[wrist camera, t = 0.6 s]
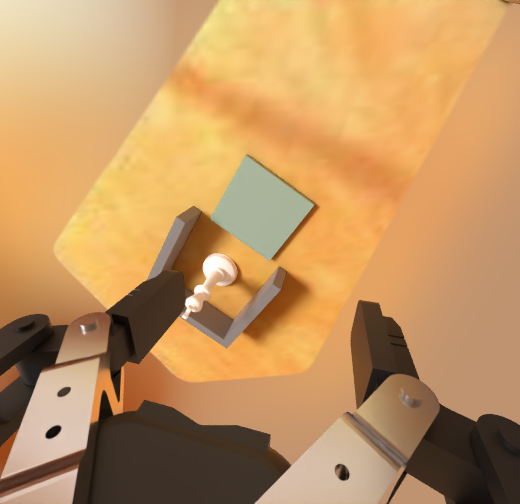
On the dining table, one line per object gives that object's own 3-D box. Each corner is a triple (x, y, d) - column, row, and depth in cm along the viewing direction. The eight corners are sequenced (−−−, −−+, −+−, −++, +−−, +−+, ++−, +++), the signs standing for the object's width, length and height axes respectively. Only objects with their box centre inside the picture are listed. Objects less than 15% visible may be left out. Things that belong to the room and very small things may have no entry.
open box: (193, 206, 33) (176, 216, 29) (286, 271, 34) (280, 289, 30) (158, 276, 40) (141, 291, 36) (236, 328, 41) (226, 348, 37)
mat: (247, 154, 28) (245, 155, 28) (314, 203, 29) (314, 205, 28) (211, 217, 33) (209, 219, 32) (270, 258, 33) (269, 260, 33)
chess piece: (243, 265, 35) (212, 314, 26) (229, 289, 37) (197, 341, 29) (211, 246, 35) (169, 289, 26) (199, 272, 37) (158, 319, 29)
